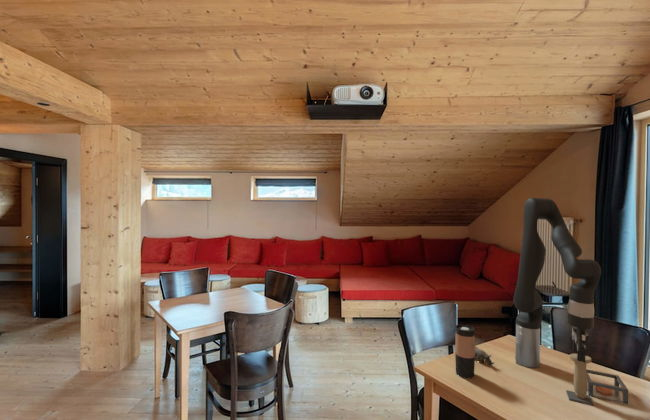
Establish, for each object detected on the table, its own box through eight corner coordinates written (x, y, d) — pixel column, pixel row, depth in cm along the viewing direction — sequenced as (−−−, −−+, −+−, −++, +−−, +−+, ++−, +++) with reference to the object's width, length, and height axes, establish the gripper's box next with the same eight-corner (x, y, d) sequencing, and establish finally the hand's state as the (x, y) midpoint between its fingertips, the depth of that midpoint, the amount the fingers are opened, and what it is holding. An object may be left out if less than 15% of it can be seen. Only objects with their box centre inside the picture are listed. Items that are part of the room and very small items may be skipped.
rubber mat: (569, 400, 116) (569, 398, 116) (566, 391, 121) (566, 390, 121) (593, 405, 112) (593, 404, 112) (589, 396, 117) (589, 395, 117)
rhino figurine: (490, 370, 137) (490, 356, 137) (465, 356, 149) (465, 343, 149) (497, 368, 138) (497, 355, 138) (472, 354, 151) (472, 342, 151)
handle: (594, 401, 114) (594, 360, 114) (575, 400, 115) (575, 359, 115) (585, 393, 119) (585, 354, 118) (566, 392, 119) (566, 353, 119)
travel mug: (466, 380, 128) (466, 332, 128) (451, 372, 135) (451, 326, 135) (478, 376, 132) (479, 329, 132) (463, 367, 139) (463, 323, 138)
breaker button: (597, 392, 119) (597, 388, 119) (593, 385, 124) (593, 382, 124) (614, 396, 117) (614, 392, 117) (610, 389, 121) (610, 385, 121)
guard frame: (589, 395, 118) (589, 381, 118) (582, 381, 128) (582, 368, 128) (628, 404, 113) (628, 390, 113) (618, 388, 123) (618, 375, 122)
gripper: (564, 305, 124) (563, 345, 124) (571, 317, 111) (569, 361, 112) (589, 309, 120) (587, 350, 121) (598, 321, 108) (596, 367, 108)
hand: (578, 356), depth 116 cm, fingers open, 8 cm apart
